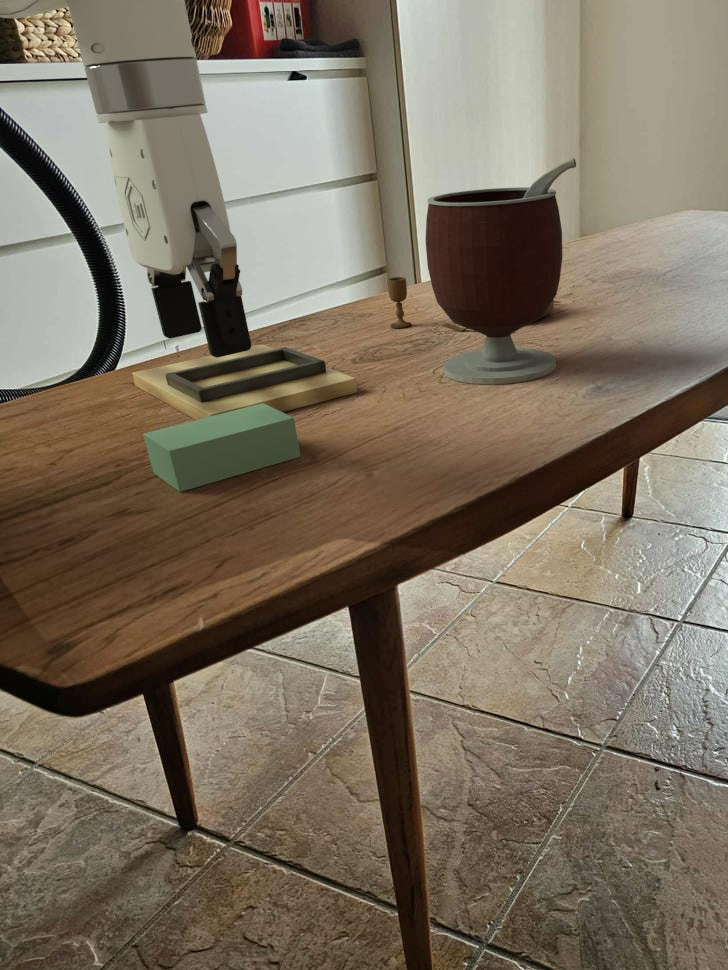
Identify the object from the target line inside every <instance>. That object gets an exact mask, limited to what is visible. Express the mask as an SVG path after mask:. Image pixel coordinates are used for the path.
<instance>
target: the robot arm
mask: <svg viewBox="0 0 728 970" xmlns="http://www.w3.org/2000/svg"><path fill="white" fill-rule="evenodd" d="M66 8H68V11H69V14H70V15H69V16H70V18H71V22H72V27H73V30H74V34H75V38H76V41H77V45H78V49H79V53H80V57H81V60H82V64H83V68H84V72H85V75H86V80H87V83H88V87H89V90H90V95H91V99H92V102H93V106H94V109H95V114H96V118H97V121H98V124H102V123H103V124H105V129H106V137H107V146H108V151H109V158H110V164H111V169H112V175H113V179H114V185H115V189H116V194H117V198H118V203H119V207H120V212H121V217H122V221H123V226H124V231H125V234H126V238H127V243H128V248H129V251H130V255H131V257H132V259H133V261H134V262H135V263H137V264H138V265H140V266H142V267H144V268H146V271H147V272H146V277H147V281H148V283H149V286H151V292H152V297H153V300H154V304H155V309H156V312H157V316H158V319H159V323H160V327H161V328H160V329H161V331H162V335H163V337H164V338H168V339H174V338H175V339H176V338H179V337H183V336H184V337H185V336H188V335H192V334H197V333H201V331H202V329H204V333H205V339H206V341H207V347H208V352H209V354H210V356H211V355H212V356H214V357H216V358H219V357H223V356H227V355H231V354H235V353H240V352H244V351H248V350H250V348H251V347H252V341H251V336H250V331H249V327H248V322H247V316H246V312H245V308H244V302H243V298H242V296H243V287H242V285H241V282H240V273H241V269H239V267H240V266H239V265H240V264H238V258H237V257H238V245H237V240H236V238H235V236H234V234H233V233H232V232H231V226H230V222H229V216H228V213H227V208H226V203H225V199H224V194H223V191H222V186H221V182H220V179H219V174H218V171H217V167H216V164H215V159H214V156H213V152H212V149H211V145H210V141H209V138H208V135H207V131H206V128H205V125H204V121H203V119H202V114H208V108H207V104H206V98H205V94H204V89H203V84H202V78H201V74H200V68H199V64H198V60H197V55H196V50H195V44H194V40H193V35H192V30H191V25H190V21H189V16H188V11H187V5H186V1H185V0H0V18H4V19H23V18H29V17H33V16H37V15H41V14H45V13H49V12H53V11H57V10H61V9H66ZM187 271H188V272H189V274H190V277H191V279H192V280H193V283H194V284H195V286H196V288H197V291H198V293H199V295H200V296H201V299H202V301H198V302H197V301H196V297H195V293H194V288H193V283H192V281H191V280H186V277H187ZM205 273H209V276H208V278H207V276H206V274H205ZM197 304H198V305H197ZM198 308H199V310H198ZM199 312H200V313H199ZM200 317H201V318H200ZM202 325H203V327H202Z"/></svg>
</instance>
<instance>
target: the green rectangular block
mask: <svg viewBox="0 0 728 970" xmlns="http://www.w3.org/2000/svg"><path fill="white" fill-rule="evenodd" d="M298 438H299V437H298V433H297V428H296V422H295V417H293V416H292V415H288V414H287V413H285V412H281V411H278V410H276V409H274V408H272V407H270V406H268V405H266V404H263V403H262V404H258V405H254V406H250V407H246V408H242V409H238V410H234V411H230V412H227V413H223V414H219V415H215V416H211V417H207V418H203V419H199V420H195V419H194V420H190V421H187V422H183V423H180V424H176V425H172V426H167V427H163V428H160V429H155V430H151V431H147V432H144V433H143V439H144V442H145V446H146V450H147V454H148V457H149V461H150V464H151V468H152V469H151V470H152V473H153V474H154V475H155V476H157V477H159V478H160V479H161V480H162V481H164V482H165V483H166V484H168V485H169V486H171V488H173V489H174V490H176V491H178V492H179V493H182V492H185V491H189V490H192V489H197V488H198V487H202V486H206V485H209V484H212V483H216V482H219V481H223V480H226V479H230V478H233V477H237V476H240V475H244V474H247V473H250V472H253V471H257V470H260V469H265V468H267V467H271V466H275V465H278V464H281V463H284V462H288V461H291V460H295V459H298V458H301V457H302V456H301V451H300V444H299V439H298Z"/></svg>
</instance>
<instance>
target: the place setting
mask: <svg viewBox="0 0 728 970" xmlns="http://www.w3.org/2000/svg"><path fill="white" fill-rule="evenodd" d="M406 278H407V277H404V276H395V277H389V278H387V279H386V283H387V292H388V296H389V299H390V300H391V301H392V302H394V303H395V307H396V311H395V316H396V318H397V320H396V321H395V322H394V323H391V324H390V328H391V329H406V328H410V327H412V326H413V324H412V322H409V321H406V320H405V319H404V316H405V312H404V309H403V302H404V301H405V300H406V299H407V296H408V285H407V279H406ZM561 303H562V301H559V300H554V299H553V301H552V302H551V304H550V306H549V307H548V309H547V310H546V312H545V313H544V315H543V316H542V317H543V318H544V317H546V316H548V315H549V314H550V313H552V310H553V309H554V306H555V304H561ZM542 317H541V319H543V318H542ZM441 327H444V328H447V329H449V330H453V331H456V332H463V331H466V330H470V329H469V328H466V327H462V326H457V325H453V324H451V323H447V322H444V323H441Z"/></svg>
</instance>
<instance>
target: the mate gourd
mask: <svg viewBox="0 0 728 970" xmlns="http://www.w3.org/2000/svg"><path fill="white" fill-rule="evenodd" d="M574 168H577V160H576V158H574V157H573V158H571V159H568V160H567V161H565V162H562V163H560V164H558V165H557V166H555V167H554V168H552V169H550V170H549V171H547V172H545V173H544V174H541V176H540V177H538V178H537V179H535V181H534V182H533V183H532V184H531V185H530V187H529V186H528V187H527V186H524V187H521V186H519V187H494V188H482V189H481V188H480V189H471V190H462V191H455V192H447V193H442V194H438V195H434V196H433V195H432V196H431V197H428V198H427V203H428V204H427V211H426V218H425V219H426V221H425V222H426V223H425V251H426V262H427V263H426V264H427V270H428V275H429V279H430V283H431V288H432V291H433V294H434V297H435V300H436V302H437V304H438V305H439V307H440V308H441V309H442V310H443V312H444V313H445V314H446V315H447V317H448V318H449V319H450V320H451V322H452V323H454V324H456V325H458V326H460V327H462V328H469V329H468V330H472V331H474V332H476V333H479V334H482V335H484V336H485V340H484V344H483V347H482V349H479V350H474V351H468V352H465V353H460V354H458V355H455V356H453V357H451V358H449V359H448V360H446V362H444V363H443V373H444V375H445V377H447V378H448V379H450V380H452V381H456V382H459V383H464V384H471V385H508V384H517V383H522V382H523V383H524V382H528V381H532V380H536V379H539V378H543V377H545V376H548V375H549V374H551V373H553V372H554V371H555V370H556V368H557V358H556V357H555V355H554V354H553V353H550V352H548V351H544V350H542V349H541V350H540V349H537V348H536V349H535V348H528V347H527V348H526V347H516V345H515V343H514V341H513V338H512V334H513V333H515V332H517V331H518V330H520V329H523V328H524V327H526V326H529V325H530V324H533V323H534V322H536V321H539V320H541V319H542V318H541V317H542V316H543V315H544V313H545V312H546V310H547V309H548V307H549V306H550V304H551V302H552V301H553V300H554V299H555V298H556V296H557V294H558V290H559V286H560V280H561V272H562V266H563V228H562V222H561V216H560V215H561V214H560V208H559V206H558V205H559V204H558V200H557V197H556V195H557V190H556V189H553V188H551V186H552V185H553V184H554V182H555V181H556V180H557V179H558V178H559V177H560V176H561V175H562V174H563V173H564V172H566V171H568V170H570V169H574ZM540 318H541V319H540ZM538 319H539V320H538Z"/></svg>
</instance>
